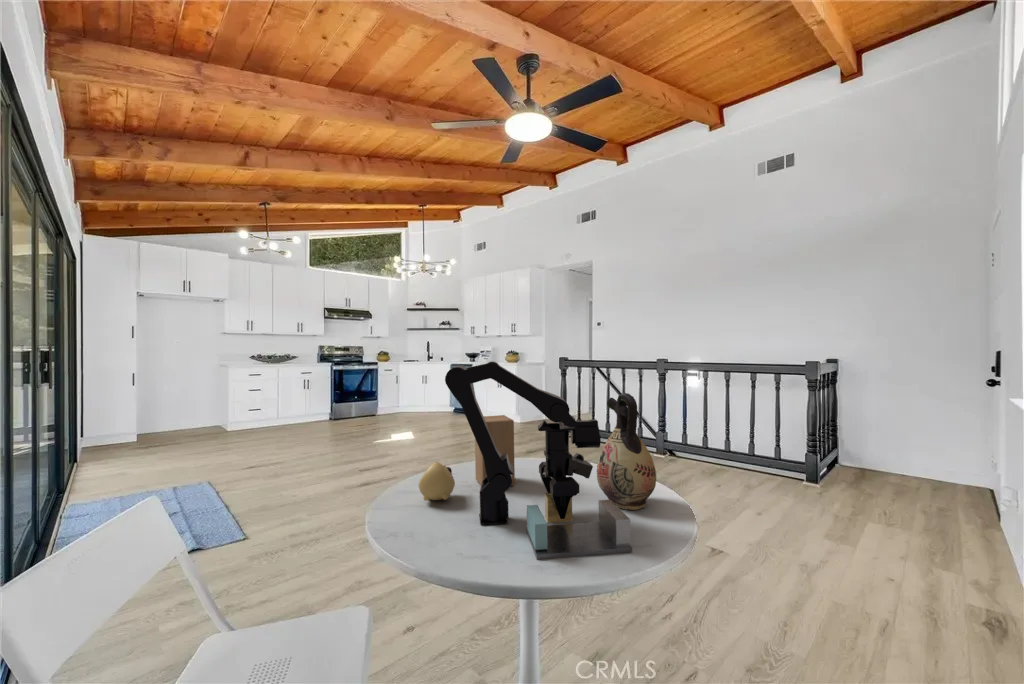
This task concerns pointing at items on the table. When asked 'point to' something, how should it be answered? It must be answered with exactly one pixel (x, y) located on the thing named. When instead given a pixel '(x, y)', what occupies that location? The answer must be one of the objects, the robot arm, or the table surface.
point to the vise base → (589, 535)
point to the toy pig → (437, 482)
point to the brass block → (555, 510)
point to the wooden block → (497, 443)
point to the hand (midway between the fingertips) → (558, 511)
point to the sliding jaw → (537, 527)
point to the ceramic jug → (626, 459)
